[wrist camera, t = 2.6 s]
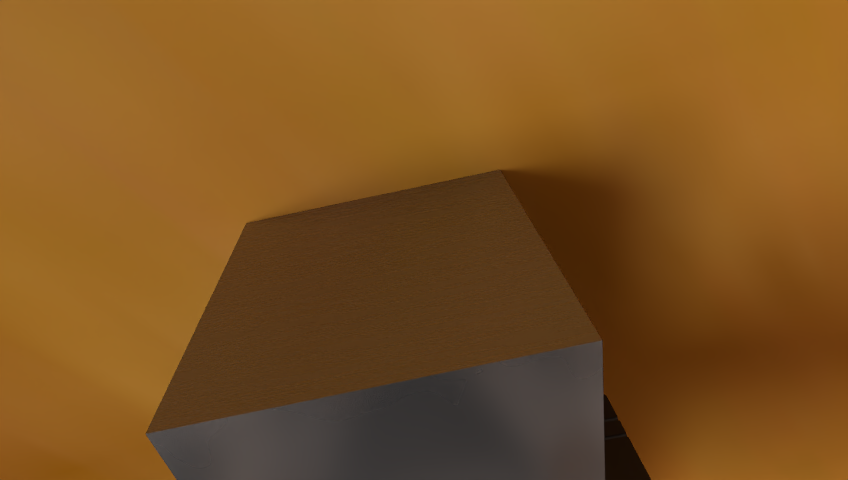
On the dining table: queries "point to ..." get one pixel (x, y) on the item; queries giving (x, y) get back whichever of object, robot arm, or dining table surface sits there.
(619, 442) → the robot arm
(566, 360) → the block
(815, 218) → the dining table surface
